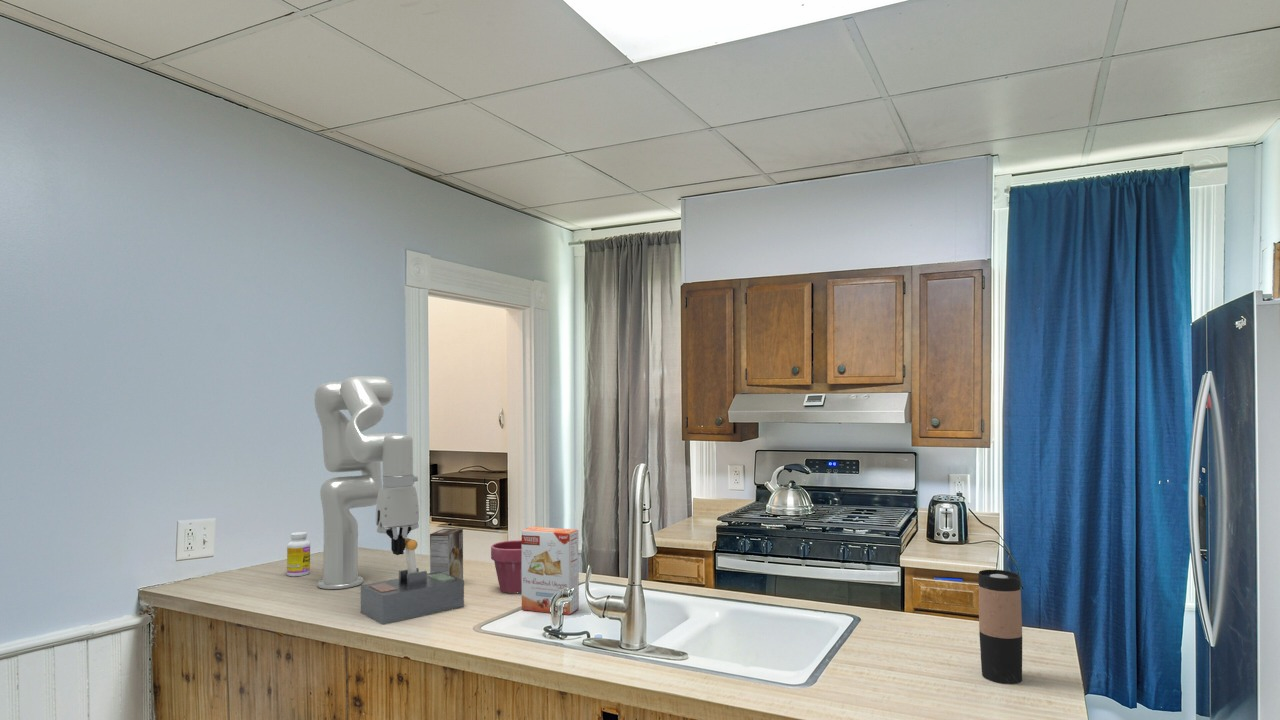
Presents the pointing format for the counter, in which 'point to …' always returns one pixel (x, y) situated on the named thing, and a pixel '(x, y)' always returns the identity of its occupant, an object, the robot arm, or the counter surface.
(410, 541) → the breaker lever
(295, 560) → the supplement bottle
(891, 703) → the counter surface
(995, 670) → the travel mug
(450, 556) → the coffee box
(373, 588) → the breaker box
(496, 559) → the plant pot
